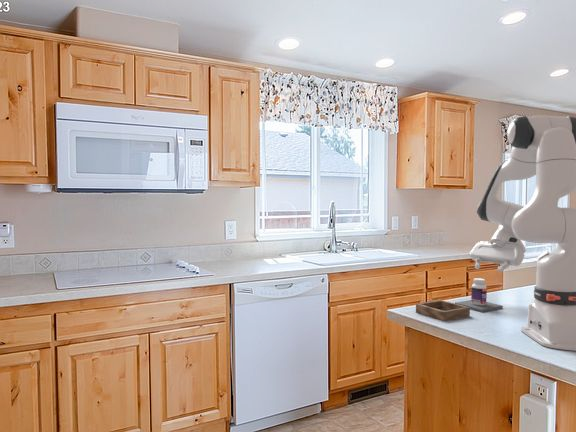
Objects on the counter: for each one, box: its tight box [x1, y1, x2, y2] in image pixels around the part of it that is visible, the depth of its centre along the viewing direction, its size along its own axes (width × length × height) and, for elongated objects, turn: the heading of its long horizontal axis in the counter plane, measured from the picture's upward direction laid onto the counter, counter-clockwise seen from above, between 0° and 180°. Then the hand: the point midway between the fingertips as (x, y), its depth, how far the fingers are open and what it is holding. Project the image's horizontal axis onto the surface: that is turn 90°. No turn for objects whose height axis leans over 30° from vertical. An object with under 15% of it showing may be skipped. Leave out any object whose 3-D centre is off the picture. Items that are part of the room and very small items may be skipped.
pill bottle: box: [470, 277, 488, 306], centre depth 167 cm, size 5×5×10 cm
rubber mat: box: [454, 299, 503, 313], centre depth 167 cm, size 12×12×1 cm
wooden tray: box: [415, 299, 471, 321], centre depth 157 cm, size 13×13×3 cm
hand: (487, 269), depth 170 cm, fingers open, 8 cm apart
